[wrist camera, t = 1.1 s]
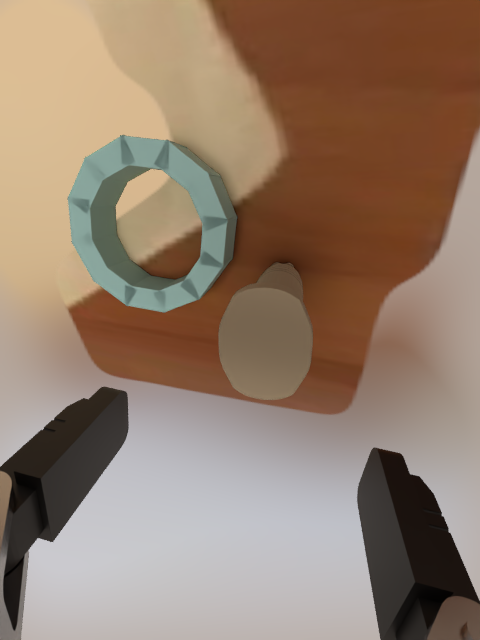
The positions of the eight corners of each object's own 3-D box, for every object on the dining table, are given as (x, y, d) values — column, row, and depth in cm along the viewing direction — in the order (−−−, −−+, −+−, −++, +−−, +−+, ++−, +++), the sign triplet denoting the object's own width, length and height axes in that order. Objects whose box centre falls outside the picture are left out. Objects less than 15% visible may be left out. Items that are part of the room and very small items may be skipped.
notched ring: (92, 136, 29) (60, 127, 25) (244, 153, 27) (234, 146, 23) (100, 285, 34) (76, 296, 30) (227, 308, 32) (218, 322, 29)
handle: (256, 307, 32) (220, 394, 18) (258, 242, 29) (217, 285, 16) (305, 310, 31) (306, 404, 17) (311, 243, 28) (317, 290, 15)
